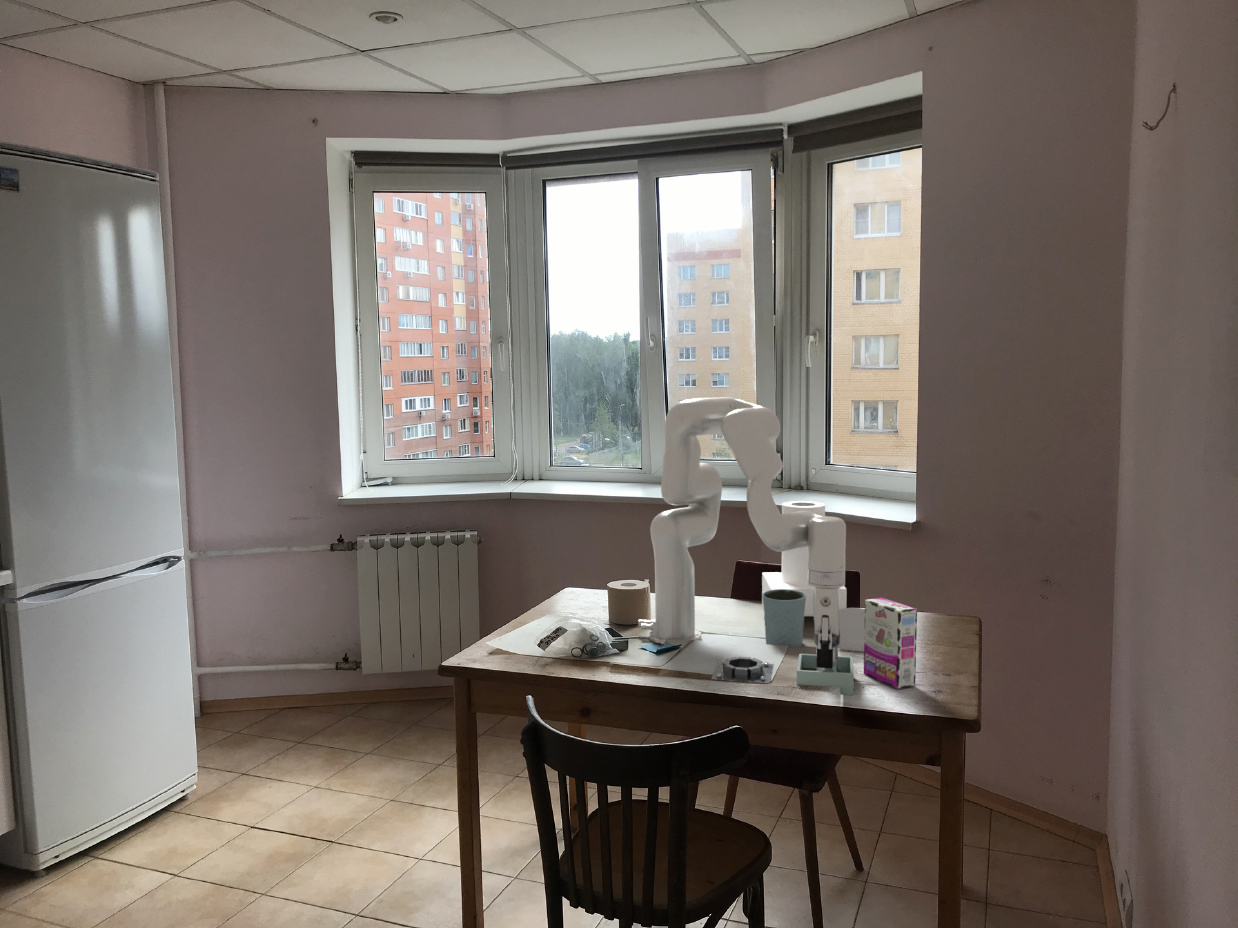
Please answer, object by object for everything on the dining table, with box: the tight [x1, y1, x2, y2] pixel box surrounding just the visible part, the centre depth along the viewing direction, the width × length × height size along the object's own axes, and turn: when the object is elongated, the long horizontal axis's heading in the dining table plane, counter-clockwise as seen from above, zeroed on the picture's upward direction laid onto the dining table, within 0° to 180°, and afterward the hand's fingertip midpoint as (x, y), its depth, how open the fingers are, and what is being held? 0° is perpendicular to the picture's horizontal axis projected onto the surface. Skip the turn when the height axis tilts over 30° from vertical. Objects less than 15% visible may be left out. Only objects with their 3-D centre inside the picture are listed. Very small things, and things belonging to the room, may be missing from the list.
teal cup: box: [761, 589, 806, 647], centre depth 219 cm, size 10×10×12 cm
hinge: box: [838, 607, 865, 652], centre depth 216 cm, size 17×5×10 cm, turn 67°
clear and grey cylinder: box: [813, 629, 840, 672], centre depth 191 cm, size 5×5×9 cm
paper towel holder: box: [761, 500, 848, 617], centre depth 239 cm, size 19×19×30 cm
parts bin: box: [796, 653, 855, 696], centre depth 192 cm, size 11×11×4 cm
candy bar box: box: [863, 597, 918, 690], centre depth 193 cm, size 11×5×16 cm, turn 24°
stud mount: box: [711, 656, 775, 684], centre depth 196 cm, size 12×12×3 cm
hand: (824, 662), depth 191 cm, fingers closed on clear and grey cylinder, 4 cm apart
